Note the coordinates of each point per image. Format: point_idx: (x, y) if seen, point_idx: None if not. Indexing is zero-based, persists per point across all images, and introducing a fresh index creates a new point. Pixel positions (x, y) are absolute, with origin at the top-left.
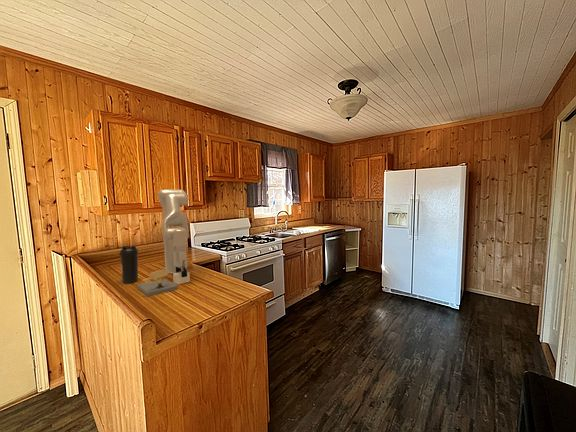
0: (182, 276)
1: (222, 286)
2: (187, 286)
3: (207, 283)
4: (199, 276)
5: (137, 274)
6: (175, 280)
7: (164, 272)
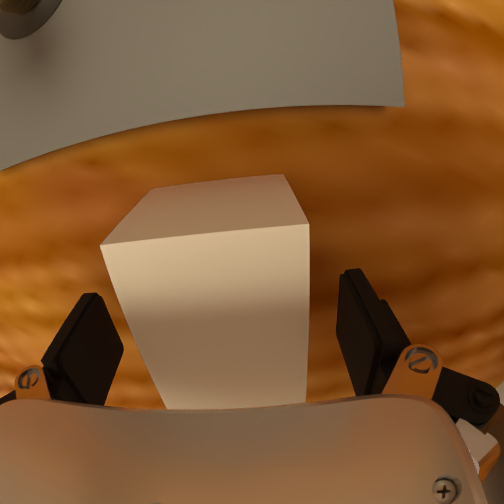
0: (83, 303)
1: None
2: (40, 263)
3: None
4: None
5: None
6: (193, 195)
7: None
